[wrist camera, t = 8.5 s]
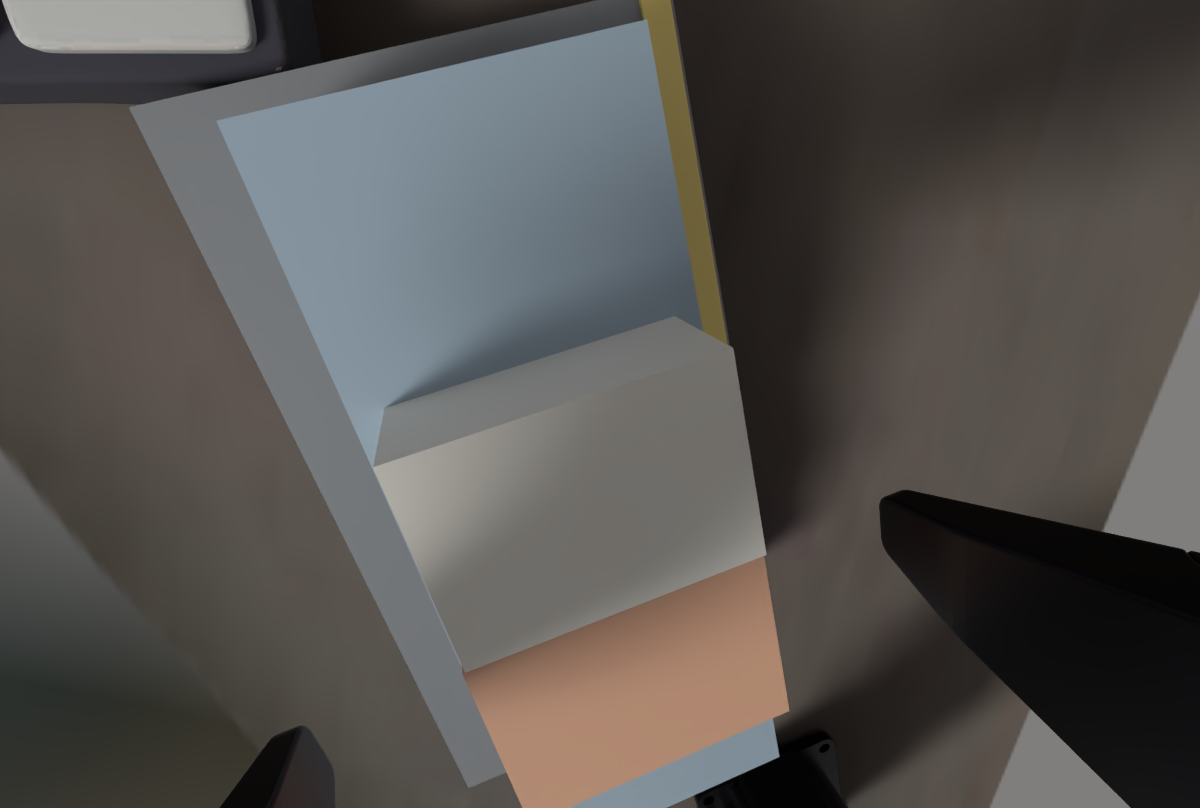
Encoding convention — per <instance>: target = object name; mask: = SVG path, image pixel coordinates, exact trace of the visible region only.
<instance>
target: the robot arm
mask: <svg viewBox="0 0 1200 808" xmlns="http://www.w3.org/2000/svg"><path fill="white" fill-rule="evenodd" d="M879 510H880V525H881V539H882V543H883V546H884V548H885V550H886V552H887V554H888V555H889V556H890V557H891V559H892V560H893V561H894V562H895V563H896V565H897V566H898V567H899V568H900V569H901V571H902V572H903V573H904V574H905V575H906V577H907V578H908V579H909V580H910V581H911V583H912V584H913V585H914V586H915V587H916V589H917V590H918V591H919V592H920V593H921V595H922V596H923V597H924V598H925V599H926V601H927V602H928V603H929V604H930V605H931V607H932V608H933V609H934V610H935V611H936V613H937V614H938V615H939V616H940V617H941V619H942V620H943V621H944V622H945V623H946V624H947V625H948V626H949V628H950V629H951V630H952V631H953V632H954V633H955V634H956V635H957V636H958V637H959V638H960V639H961V640H962V641H963V642H964V643H965V644H966V645H967V646H968V647H969V648H970V649H971V650H972V651H973V652H974V653H975V654H976V655H977V656H978V657H979V658H980V659H981V660H982V661H983V662H984V663H985V664H986V665H987V666H988V667H989V668H990V669H991V670H992V671H993V672H994V673H995V674H996V675H997V676H998V677H999V678H1000V679H1001V680H1002V681H1003V682H1004V683H1005V684H1006V685H1007V686H1008V687H1009V688H1010V689H1011V690H1012V691H1013V692H1014V693H1015V694H1016V695H1017V696H1018V697H1019V698H1020V699H1021V700H1022V701H1023V702H1024V703H1025V704H1026V705H1027V706H1028V707H1029V708H1030V709H1031V710H1032V711H1033V712H1034V713H1035V714H1037V715H1038V716H1039V717H1040V718H1041V719H1042V720H1043V721H1044V722H1045V723H1046V724H1047V725H1048V726H1049V727H1050V728H1051V729H1052V730H1053V731H1054V732H1055V733H1056V734H1057V735H1058V736H1059V737H1060V738H1061V739H1062V740H1063V741H1064V742H1065V743H1066V744H1067V745H1068V746H1069V747H1070V748H1071V749H1072V750H1073V751H1074V752H1075V753H1076V754H1077V755H1078V756H1079V757H1080V758H1081V759H1082V760H1083V761H1084V762H1085V763H1086V764H1087V765H1088V766H1089V767H1090V768H1091V769H1092V770H1093V771H1094V772H1095V773H1096V774H1097V775H1098V776H1099V777H1100V778H1101V779H1102V780H1103V781H1104V782H1105V783H1107V784H1108V785H1109V787H1111V789H1112V790H1113V791H1114V792H1116V793H1117V794H1118V795H1119V796H1120V797H1121V798H1122V799H1123V800H1124V801H1125V802H1126V803H1127V804H1128V805H1129V806H1130V807H1131V808H1200V553H1199V552H1194V551H1190V552H1188V553H1187V552H1186V551H1185V550H1183V549H1180V548H1175V547H1170V546H1166V545H1161V544H1156V543H1152V542H1147V541H1142V540H1138V539H1133V538H1129V537H1124V536H1119V535H1115V534H1110V533H1105V532H1101V531H1096V530H1092V529H1087V528H1082V527H1078V526H1073V525H1068V524H1064V523H1059V522H1054V521H1050V520H1045V519H1041V518H1036V517H1031V516H1027V515H1022V514H1017V513H1013V512H1008V511H1003V510H999V509H994V508H989V507H985V506H980V505H976V504H971V503H966V502H962V501H957V500H952V499H948V498H943V497H938V496H934V495H929V494H924V493H920V492H915V491H911V490H901V491H898V492H896V493H893V494H890V495H888V496H885V497H884V498H882V499H881V501H880V504H879ZM694 797H695V801H696V804H697V808H848V807H847V805H846V804H845V802H844V801H843V799H842V798H841V791H840V783H839V775H838V767H837V759H836V751H835V744H834V741H833V740H832V739H831V737H830V736H829V734H828V733H826V732H820V733H817V734H815V735H812V736H810V737H808V738H806V739H803V740H801V741H799V742H797V743H795V744H792V745H790V746H788V747H786V748H783V749H781V750H779V757H778V758H776V759H774V760H771V761H769V762H767V763H765V764H762V765H760V766H758V767H756V768H754V769H751V770H749V771H747V772H745V773H742V774H740V775H738V776H736V777H734V778H731V779H729V780H727V781H725V782H722V783H720V784H718V785H716V786H714V787H711V788H709V789H707V790H705V791H702V792H700V793H698V794H696V795H694ZM219 808H335V776H334V771H333V767H332V765H331V762H330V761H329V759H328V757H327V756H326V754H325V753H324V751H323V749H322V748H321V746H320V745H319V743H318V741H317V740H316V738H315V737H314V735H313V733H312V732H311V731H310V729H309V728H307V727H306V726H298V727H295V728H293V729H290V730H287V731H285V732H282V733H280V734H277V735H276V736H274V737H273V738H271V739H270V741H269V742H268V743H267V744H266V746H265V747H264V748H263V750H262V751H261V752H260V754H259V755H258V756H257V758H256V759H255V760H254V762H253V763H252V764H251V766H250V767H249V769H248V770H247V771H246V772H245V774H244V775H243V776H242V778H241V779H240V781H239V782H238V783H237V785H236V786H235V787H234V789H233V790H232V791H231V793H230V794H229V795H228V797H227V798H226V799H225V801H224V802H223V804H222V805H221V806H220V807H219Z"/></svg>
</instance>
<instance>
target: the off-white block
mask: <svg viewBox="0 0 1200 808" xmlns="http://www.w3.org/2000/svg"><path fill="white" fill-rule="evenodd" d="M373 468H374V471H375V473H376V475H377V477H378V480H379V482H380V484H381V486H382V488H383V491H384V493H385V495H386V497H387V500H388V502H389V504H390V506H391V509H392V511H393V513H394V515H395V517H396V520H397V522H398V524H399V526H400V529H401V531H402V533H403V535H404V538H405V540H406V542H407V544H408V546H409V549H410V551H411V553H412V555H413V558H414V560H415V562H416V564H417V567H418V569H419V571H420V573H421V575H422V578H423V580H424V582H425V584H426V587H427V589H428V591H429V593H430V596H431V598H432V600H433V602H434V604H435V607H436V609H437V611H438V613H439V616H440V618H441V620H442V622H443V625H444V627H445V629H446V631H447V633H448V636H449V638H450V640H451V642H452V645H453V647H454V649H455V651H456V654H457V656H458V658H459V660H460V662H461V665H462V667H463V669H464V671H465V673H466V672H469V671H471V670H474V669H477V668H479V667H482V666H484V665H487V664H489V663H492V662H494V661H497V660H499V659H502V658H505V657H507V656H510V655H512V654H515V653H517V652H520V651H522V650H525V649H528V648H530V647H533V646H535V645H538V644H540V643H543V642H545V641H548V640H551V639H553V638H556V637H558V636H561V635H563V634H566V633H568V632H571V631H574V630H576V629H579V628H581V627H584V626H586V625H589V624H591V623H594V622H596V621H599V620H602V619H604V618H607V617H609V616H612V615H614V614H617V613H619V612H622V611H625V610H627V609H630V608H632V607H635V606H637V605H640V604H642V603H645V602H648V601H650V600H653V599H655V598H658V597H660V596H663V595H665V594H668V593H671V592H673V591H676V590H678V589H681V588H683V587H686V586H688V585H691V584H693V583H696V582H699V581H701V580H704V579H706V578H709V577H711V576H714V575H716V574H719V573H722V572H724V571H727V570H729V569H732V568H734V567H737V566H739V565H742V564H745V563H747V562H750V561H752V560H755V559H757V558H760V557H762V556H765V555H767V554H766V548H765V542H764V536H763V529H762V523H761V517H760V511H759V505H758V498H757V492H756V486H755V480H754V473H753V467H752V461H751V455H750V449H749V442H748V436H747V430H746V424H745V417H744V411H743V405H742V399H741V392H740V386H739V380H738V374H737V368H736V361H735V355H734V349H733V347H731V346H729V345H727V344H725V343H723V342H722V341H720V340H718V339H716V338H714V337H712V336H710V335H709V334H707V333H705V332H703V331H701V330H699V329H698V328H696V327H694V326H692V325H690V324H688V323H686V322H685V321H683V320H681V319H679V318H677V317H675V316H673V317H670V318H667V319H664V320H661V321H657V322H654V323H651V324H648V325H645V326H642V327H639V328H635V329H632V330H629V331H626V332H623V333H620V334H616V335H613V336H610V337H607V338H604V339H601V340H598V341H594V342H591V343H588V344H585V345H582V346H579V347H575V348H572V349H569V350H566V351H563V352H560V353H557V354H553V355H550V356H547V357H544V358H541V359H538V360H535V361H531V362H528V363H525V364H522V365H519V366H516V367H512V368H509V369H506V370H503V371H500V372H497V373H494V374H490V375H487V376H484V377H481V378H478V379H475V380H471V381H468V382H465V383H462V384H459V385H456V386H453V387H449V388H446V389H443V390H440V391H437V392H434V393H431V394H427V395H424V396H421V397H418V398H415V399H412V400H408V401H405V402H402V403H399V404H396V405H393V406H390V407H386V408H384V413H383V418H382V423H381V428H380V434H379V439H378V444H377V449H376V454H375V460H374V465H373Z"/></svg>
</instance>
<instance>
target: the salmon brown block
mask: <svg viewBox="0 0 1200 808" xmlns="http://www.w3.org/2000/svg"><path fill="white" fill-rule="evenodd" d="M462 675H463V677H464V679H465V681H466V683H467V686H468V688H469V690H470V692H471V695H472V697H473V699H474V701H475V703H476V706H477V708H478V710H479V712H480V714H481V717H482V719H483V721H484V723H485V726H486V728H487V730H488V732H489V734H490V737H491V739H492V741H493V743H494V745H495V748H496V750H497V752H498V754H499V757H500V759H501V761H502V763H503V765H504V768H505V770H506V772H507V774H508V777H509V779H510V781H511V783H512V785H513V788H514V790H515V792H516V794H517V796H518V799H519V801H520V803H521V805H522V808H569V807H571V806H573V805H576V804H578V803H580V802H582V801H585V800H587V799H589V798H592V797H594V796H596V795H598V794H601V793H603V792H605V791H608V790H610V789H612V788H614V787H617V786H619V785H621V784H624V783H626V782H628V781H630V780H633V779H635V778H637V777H640V776H642V775H644V774H646V773H649V772H651V771H653V770H656V769H658V768H660V767H662V766H665V765H667V764H669V763H671V762H674V761H676V760H678V759H681V758H683V757H685V756H687V755H690V754H692V753H694V752H697V751H699V750H701V749H703V748H706V747H708V746H710V745H713V744H715V743H717V742H719V741H722V740H724V739H726V738H729V737H731V736H733V735H735V734H738V733H740V732H742V731H745V730H747V729H749V728H751V727H754V726H756V725H758V724H761V723H763V722H765V721H767V720H770V719H772V718H774V717H777V716H779V715H781V714H783V713H786V712H788V711H789V706H788V700H787V694H786V687H785V681H784V675H783V669H782V663H781V657H780V650H779V644H778V638H777V632H776V626H775V620H774V614H773V607H772V601H771V595H770V589H769V583H768V577H767V571H766V564H765V558H764V556H762V557H760V558H757V559H755V560H752V561H750V562H747V563H745V564H742V565H739V566H737V567H734V568H732V569H729V570H727V571H724V572H722V573H719V574H716V575H714V576H711V577H709V578H706V579H704V580H701V581H699V582H696V583H693V584H691V585H688V586H686V587H683V588H681V589H678V590H676V591H673V592H671V593H668V594H665V595H663V596H660V597H658V598H655V599H653V600H650V601H648V602H645V603H642V604H640V605H637V606H635V607H632V608H630V609H627V610H625V611H622V612H619V613H617V614H614V615H612V616H609V617H607V618H604V619H602V620H599V621H596V622H594V623H591V624H589V625H586V626H584V627H581V628H579V629H576V630H574V631H571V632H568V633H566V634H563V635H561V636H558V637H556V638H553V639H551V640H548V641H545V642H543V643H540V644H538V645H535V646H533V647H530V648H528V649H525V650H522V651H520V652H517V653H515V654H512V655H510V656H507V657H505V658H502V659H499V660H497V661H494V662H492V663H489V664H487V665H484V666H482V667H479V668H477V669H474V670H471V671H469V672H466V673H465V671H464V669H463V667H462Z"/></svg>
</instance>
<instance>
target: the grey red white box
mask: <svg viewBox="0 0 1200 808" xmlns="http://www.w3.org/2000/svg"><path fill="white" fill-rule="evenodd" d="M320 63H323V62H322V56H321V50H320V45H319V39H318V33H317V27H316V21H315V16H314V10H313V4H312V0H0V104H32V103H115V104H146V103H150V102H154V101H159V100H163V99H167V98H172V97H176V96H180V95H185V94H189V93H194V92H198V91H202V90H207V89H211V88H215V87H220V86H224V85H229V84H233V83H237V82H242V81H246V80H250V79H255V78H259V77H263V76H268V75H272V74H277V73H281V72H285V71H290V70H294V69H298V68H303V67H307V66H311V65H316V64H320Z"/></svg>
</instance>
